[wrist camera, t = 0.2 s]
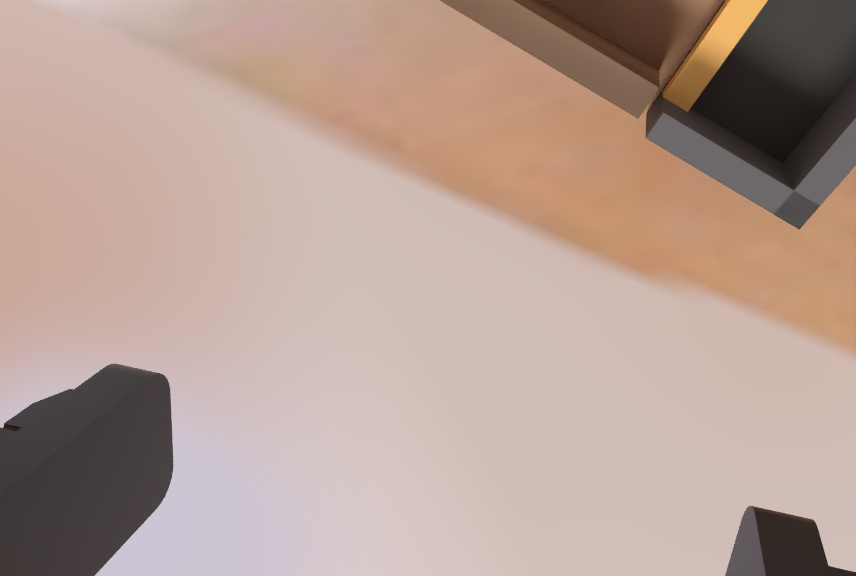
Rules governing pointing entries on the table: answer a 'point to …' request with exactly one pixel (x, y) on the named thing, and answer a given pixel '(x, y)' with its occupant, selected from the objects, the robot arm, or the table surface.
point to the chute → (568, 49)
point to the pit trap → (767, 102)
